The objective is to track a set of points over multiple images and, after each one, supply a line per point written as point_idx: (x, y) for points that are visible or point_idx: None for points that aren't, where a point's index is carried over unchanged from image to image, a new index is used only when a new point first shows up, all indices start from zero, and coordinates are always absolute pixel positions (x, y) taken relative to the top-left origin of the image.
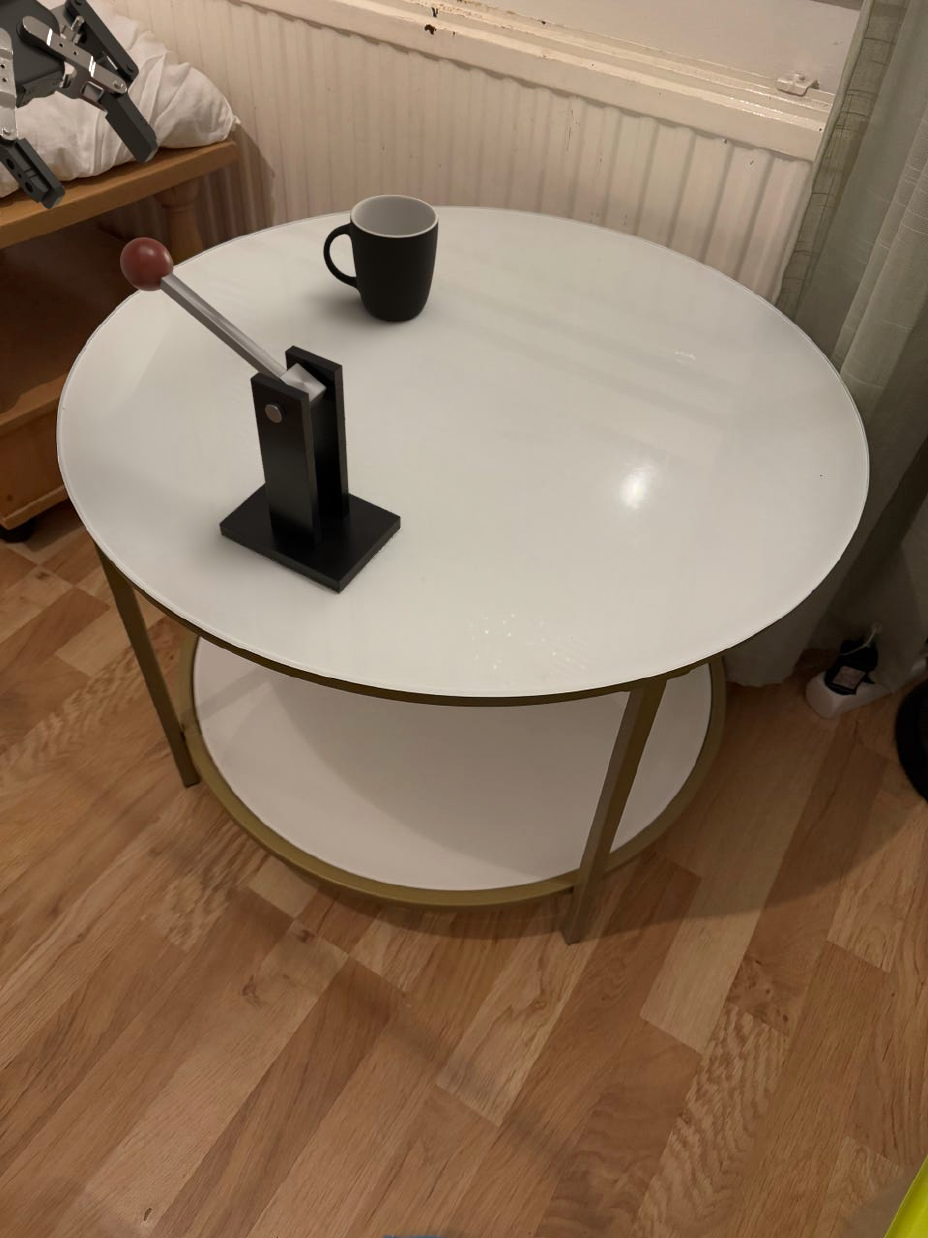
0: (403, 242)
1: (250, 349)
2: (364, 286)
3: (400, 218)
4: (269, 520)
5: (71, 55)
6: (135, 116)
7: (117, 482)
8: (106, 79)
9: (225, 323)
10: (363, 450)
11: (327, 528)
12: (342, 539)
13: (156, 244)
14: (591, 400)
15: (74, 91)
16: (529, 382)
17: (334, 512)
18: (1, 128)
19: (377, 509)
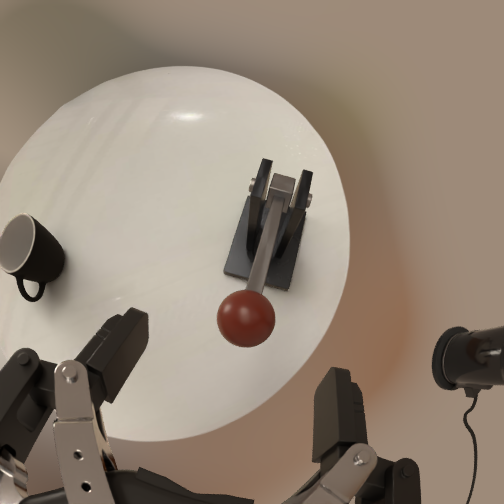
0: (37, 228)
1: (277, 216)
2: (51, 270)
3: (8, 251)
4: (276, 261)
5: (91, 461)
6: (111, 339)
7: (264, 372)
8: (77, 393)
9: (267, 236)
10: (187, 237)
11: None
12: None
13: (241, 300)
14: (124, 143)
15: (110, 454)
16: (112, 171)
17: (259, 227)
18: (370, 462)
19: (246, 207)
